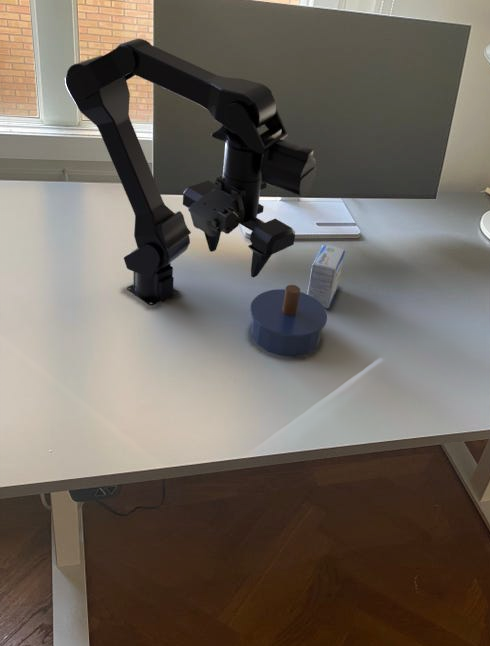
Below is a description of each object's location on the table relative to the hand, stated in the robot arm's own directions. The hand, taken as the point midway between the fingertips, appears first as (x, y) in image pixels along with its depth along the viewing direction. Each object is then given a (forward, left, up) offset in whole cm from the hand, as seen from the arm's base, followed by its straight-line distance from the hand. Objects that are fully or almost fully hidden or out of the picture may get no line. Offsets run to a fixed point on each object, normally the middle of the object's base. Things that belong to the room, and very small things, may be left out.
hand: (233, 263), depth 115 cm
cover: (+9, +5, -7) cm, 12 cm away
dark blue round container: (+9, +5, -12) cm, 16 cm away
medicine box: (+5, +20, -12) cm, 24 cm away
